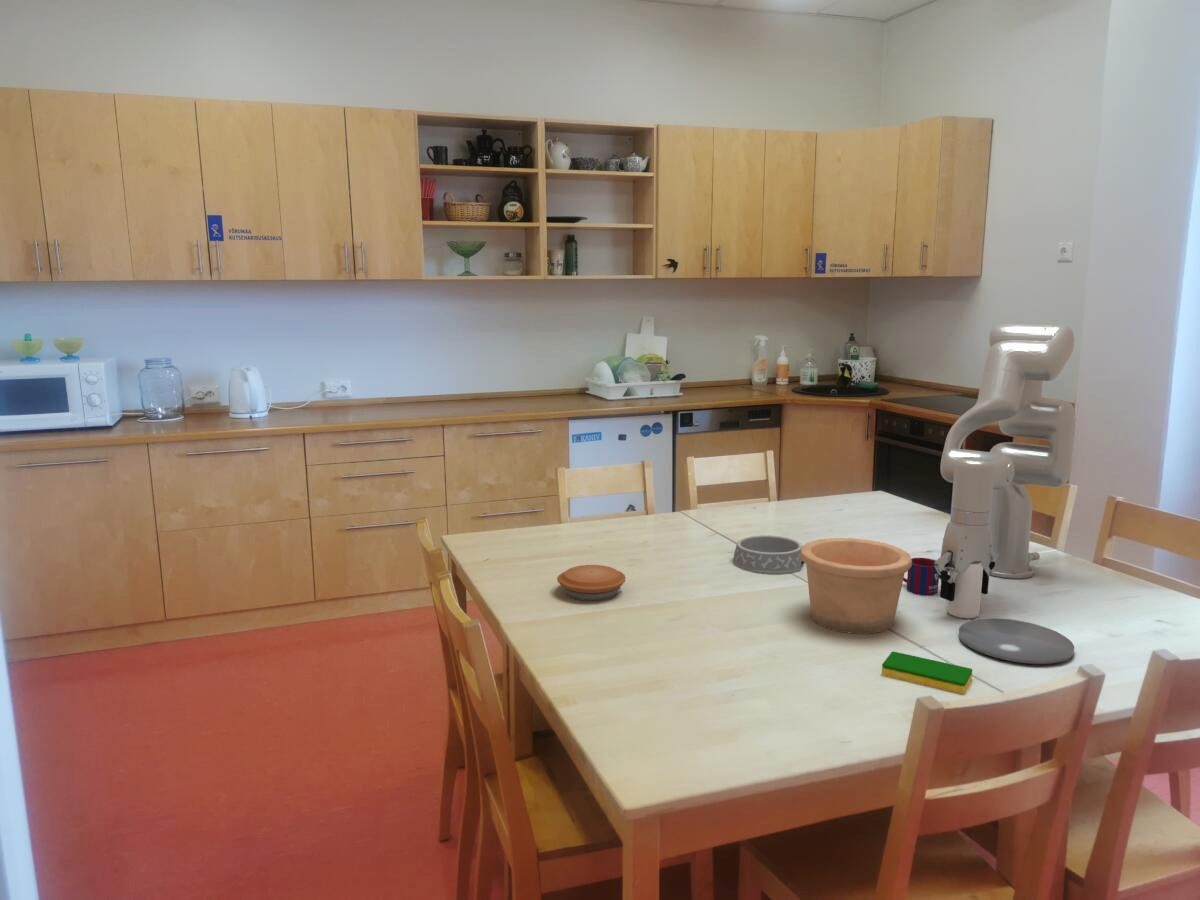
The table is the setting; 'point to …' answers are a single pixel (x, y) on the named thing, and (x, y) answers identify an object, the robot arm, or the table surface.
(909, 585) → the mug
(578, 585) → the pie
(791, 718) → the table surface
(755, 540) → the dog bowl
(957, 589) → the can
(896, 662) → the dish sponge
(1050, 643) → the dish
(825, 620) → the pottery
